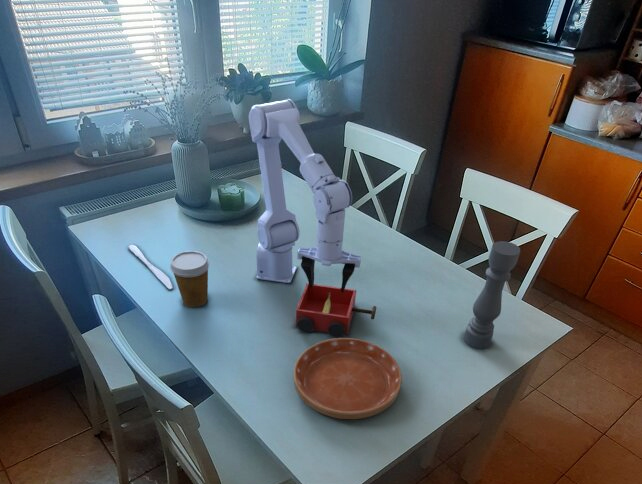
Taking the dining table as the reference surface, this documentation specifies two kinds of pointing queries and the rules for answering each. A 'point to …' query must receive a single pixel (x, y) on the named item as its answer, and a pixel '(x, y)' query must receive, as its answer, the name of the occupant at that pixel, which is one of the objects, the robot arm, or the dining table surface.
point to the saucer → (347, 378)
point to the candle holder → (491, 294)
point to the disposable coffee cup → (191, 277)
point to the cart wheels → (335, 327)
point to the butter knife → (152, 267)
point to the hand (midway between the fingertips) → (327, 287)
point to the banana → (327, 305)
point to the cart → (315, 302)
